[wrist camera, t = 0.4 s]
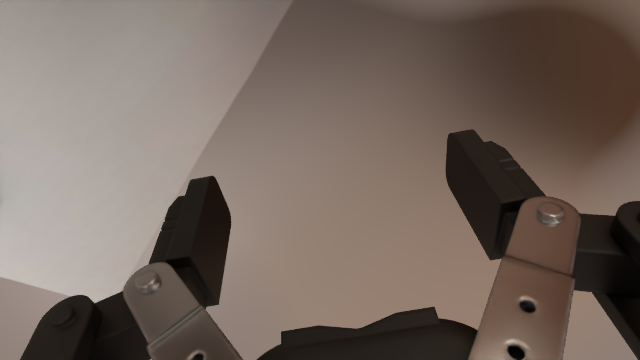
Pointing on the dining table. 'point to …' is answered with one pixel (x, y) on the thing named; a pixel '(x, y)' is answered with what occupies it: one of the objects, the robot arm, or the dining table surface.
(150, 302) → the robot arm
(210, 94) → the dining table surface
